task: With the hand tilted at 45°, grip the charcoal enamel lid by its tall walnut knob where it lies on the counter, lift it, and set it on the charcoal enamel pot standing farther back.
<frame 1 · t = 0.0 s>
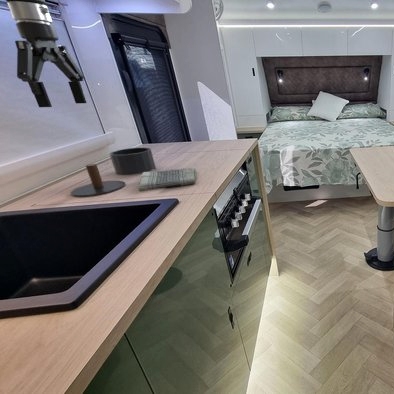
hand: (64, 105, 87), 28 cm above the worktop, tool pointing down, fingers open, 13 cm apart
pot lid: (99, 188, 100), point 1 cm above the worktop
dish towel: (170, 181, 109), on the worktop
pot: (136, 171, 121), on the worktop
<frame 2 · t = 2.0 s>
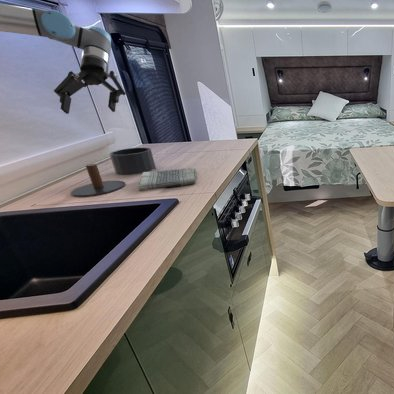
hand: (88, 110, 99), 26 cm above the worktop, tool tilted 45°, fingers open, 13 cm apart
nothing on the worktop moved.
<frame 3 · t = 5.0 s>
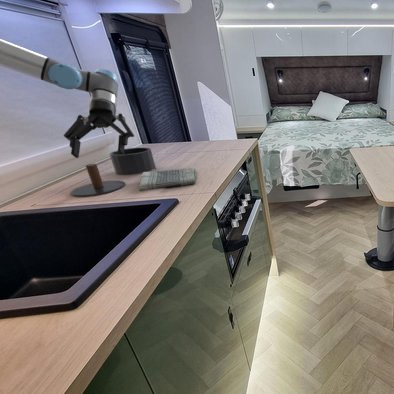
hand: (98, 154, 102), 11 cm above the worktop, tool tilted 45°, fingers open, 13 cm apart
nothing on the worktop moved.
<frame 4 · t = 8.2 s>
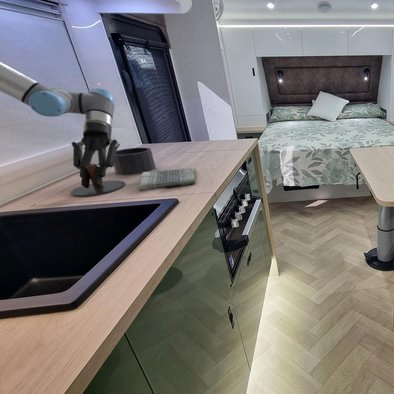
hand: (91, 185, 95), 3 cm above the worktop, tool tilted 45°, fingers closed on pot lid, 3 cm apart
pot lid: (99, 188, 100), point 1 cm above the worktop, touching gripper
everything else where it was.
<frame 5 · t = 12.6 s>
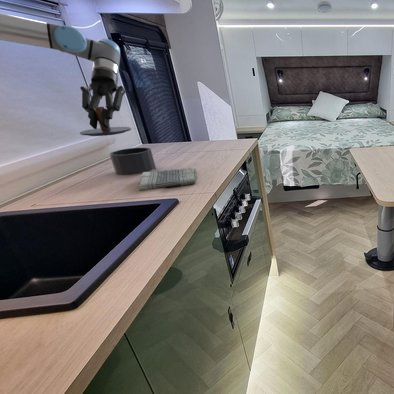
hand: (99, 126, 101), 21 cm above the worktop, tool tilted 45°, fingers closed on pot lid, 3 cm apart
pot lid: (106, 131, 105), point 18 cm above the worktop, touching gripper
everything else where it was.
when the fingers open (11 cm above the worktop, at t = 17.1 s): pot lid stays where it is, resting on pot.
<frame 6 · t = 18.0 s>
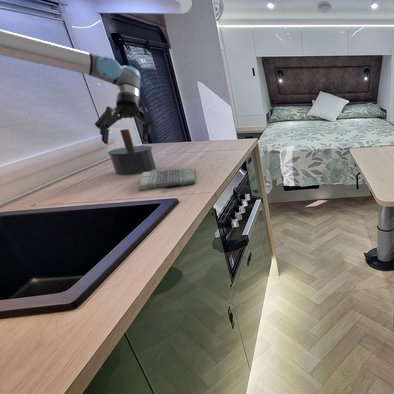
hand: (125, 141, 114), 13 cm above the worktop, tool tilted 45°, fingers open, 13 cm apart
pot lid: (130, 151, 118), point 8 cm above the worktop, touching pot
everything else where it was.
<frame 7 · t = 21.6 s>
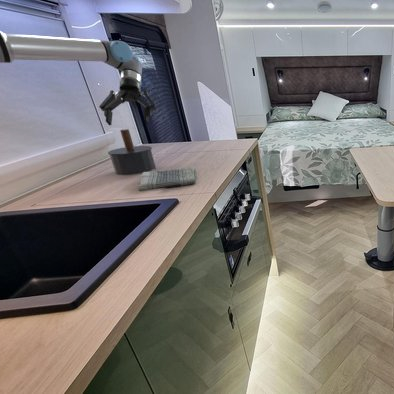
hand: (127, 122, 121), 19 cm above the worktop, tool tilted 45°, fingers open, 13 cm apart
nothing on the worktop moved.
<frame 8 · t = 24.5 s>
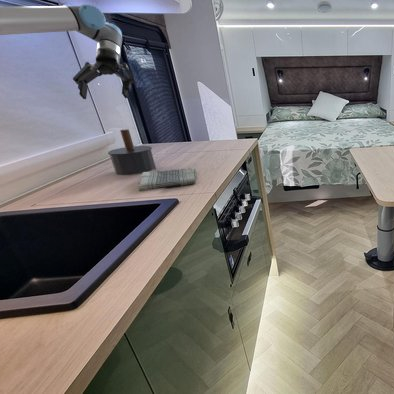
hand: (104, 96, 111), 30 cm above the worktop, tool tilted 45°, fingers open, 13 cm apart
nothing on the worktop moved.
at the end: pot lid 0.0 cm off-centre on the pot, point 8.5 cm above the pot's base; pot lid tilted 0°; the gripper is holding nothing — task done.
